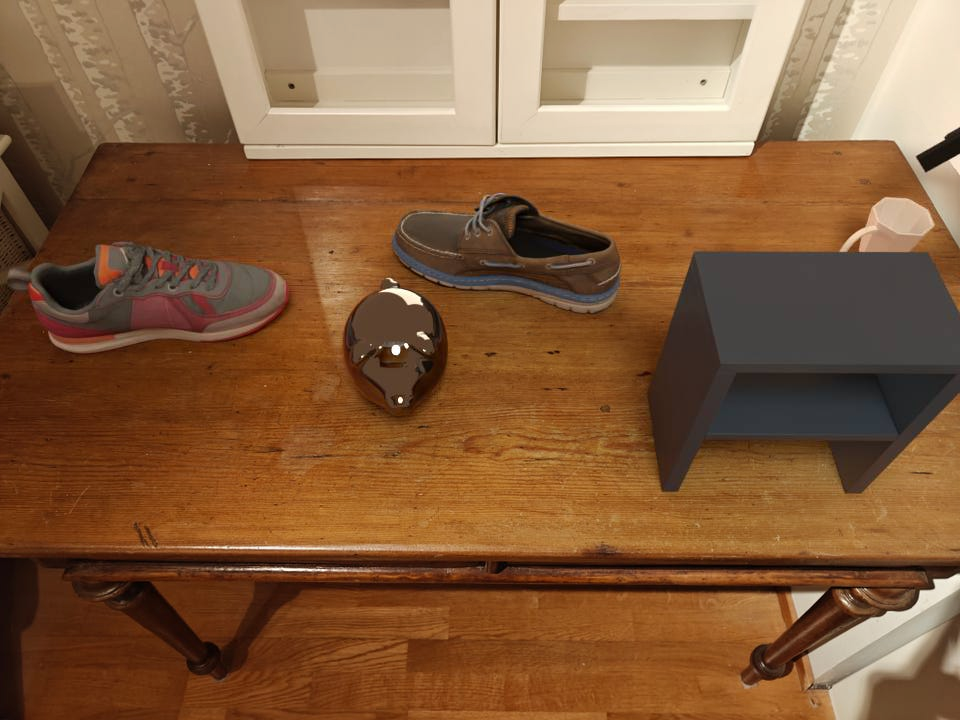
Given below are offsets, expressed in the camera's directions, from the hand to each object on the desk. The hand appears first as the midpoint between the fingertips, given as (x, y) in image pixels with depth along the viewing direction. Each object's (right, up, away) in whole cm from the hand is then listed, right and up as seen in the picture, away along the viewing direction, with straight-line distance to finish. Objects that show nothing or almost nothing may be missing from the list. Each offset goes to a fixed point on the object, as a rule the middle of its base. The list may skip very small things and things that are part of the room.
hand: (943, 202), depth 81 cm
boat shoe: (-51, -7, +9) cm, 52 cm away
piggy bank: (-62, -21, -2) cm, 66 cm away
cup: (-5, -6, +8) cm, 12 cm away
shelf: (-25, -27, -7) cm, 37 cm away
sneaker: (-90, -13, +4) cm, 91 cm away
